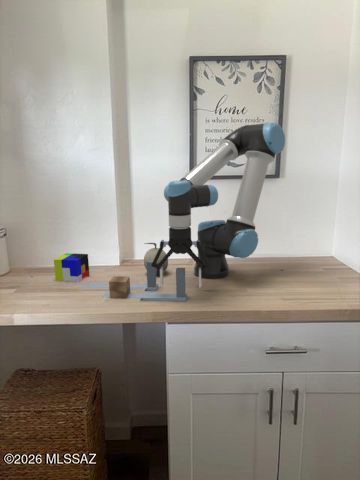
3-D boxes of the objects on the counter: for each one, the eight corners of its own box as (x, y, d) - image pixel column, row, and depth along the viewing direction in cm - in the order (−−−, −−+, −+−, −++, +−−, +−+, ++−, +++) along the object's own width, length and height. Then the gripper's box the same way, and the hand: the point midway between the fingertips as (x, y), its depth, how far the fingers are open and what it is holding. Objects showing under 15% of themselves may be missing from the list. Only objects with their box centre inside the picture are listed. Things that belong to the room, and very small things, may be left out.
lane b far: (120, 285, 139) (120, 283, 138) (117, 290, 134) (117, 287, 134) (83, 285, 140) (83, 283, 140) (79, 289, 135) (78, 287, 135)
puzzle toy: (78, 284, 142) (76, 260, 139) (56, 283, 144) (53, 259, 141) (89, 276, 151) (87, 254, 149) (68, 275, 153) (66, 253, 151)
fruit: (168, 269, 159) (167, 237, 156) (168, 277, 148) (167, 243, 145) (145, 269, 159) (144, 237, 155) (143, 278, 148) (142, 243, 144)
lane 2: (187, 295, 127) (186, 266, 125) (186, 301, 122) (185, 271, 120) (106, 294, 130) (104, 266, 127) (102, 299, 125) (100, 270, 122)
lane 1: (158, 286, 137) (157, 259, 135) (156, 290, 133) (155, 263, 130) (127, 285, 138) (126, 259, 136) (125, 290, 134) (123, 262, 131)
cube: (130, 292, 129) (129, 276, 128) (126, 298, 123) (125, 282, 122) (114, 291, 130) (113, 276, 128) (109, 297, 124) (108, 281, 123)
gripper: (216, 224, 122) (216, 282, 127) (145, 224, 124) (147, 281, 129) (217, 228, 115) (216, 290, 119) (141, 228, 117) (144, 289, 121)
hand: (180, 285), depth 124 cm, fingers open, 13 cm apart
